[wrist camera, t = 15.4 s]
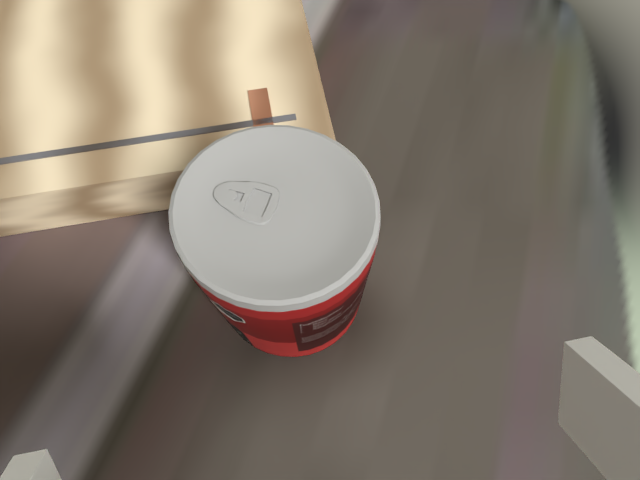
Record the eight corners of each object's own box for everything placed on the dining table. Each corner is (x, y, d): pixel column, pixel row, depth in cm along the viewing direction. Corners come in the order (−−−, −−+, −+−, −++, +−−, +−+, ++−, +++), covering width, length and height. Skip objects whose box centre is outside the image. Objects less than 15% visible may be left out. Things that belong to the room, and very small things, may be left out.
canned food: (233, 232, 28) (184, 118, 18) (360, 237, 28) (382, 125, 18) (216, 356, 25) (145, 301, 15) (358, 363, 25) (384, 312, 15)
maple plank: (-110, 254, 27) (-179, 225, 24) (-60, 25, 35) (-105, -24, 32) (335, 182, 30) (337, 144, 26) (287, -19, 37) (284, -70, 34)
